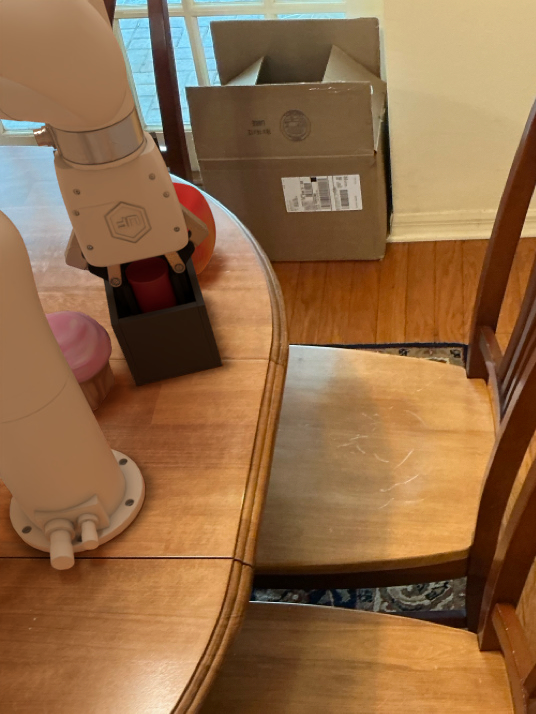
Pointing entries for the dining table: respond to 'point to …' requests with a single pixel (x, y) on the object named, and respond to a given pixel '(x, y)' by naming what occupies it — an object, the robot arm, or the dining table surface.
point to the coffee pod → (151, 284)
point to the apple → (202, 210)
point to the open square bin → (165, 334)
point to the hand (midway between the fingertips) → (158, 302)
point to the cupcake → (85, 352)
